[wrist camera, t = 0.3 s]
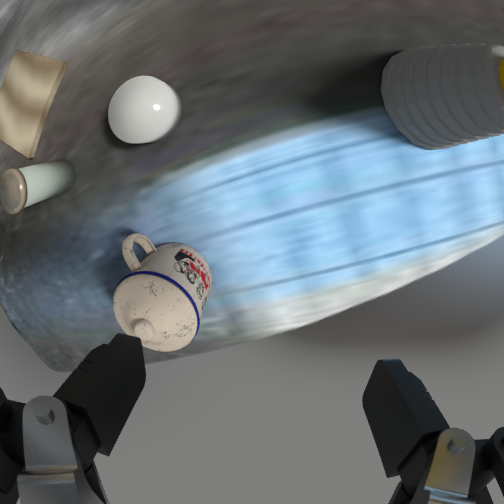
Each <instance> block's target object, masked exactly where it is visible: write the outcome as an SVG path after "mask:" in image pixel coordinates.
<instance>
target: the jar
mask: <svg viewBox="0 0 504 504" xmlns="http://www.w3.org/2000/svg"><path fill="white" fill-rule="evenodd" d="M74 182H75V169H74V167H73V165H72V163H71V162H70V161H68V160H66V159H62V160H57V161H52V162H47V163H42V164H37V165H33V166H28V167H24V168H20V169H17V168H12V169H9V170H6V171H5V172H4V173H3V175H2V177H1V180H0V199H1V203H2V205H3V207H4V209H5V210H6V211H7V212H8V213H10V214H15V213H17V212H20V211H21V210H22V209H23V208H25V207H27V206H30V205H32V204H35V203H37V202H40V201H42V200H45V199H48V198H50V197H53V196H56V195H59V194H62V193H64V192H67V191H69V190H70V189H71V188H72V187H73V185H74Z"/></svg>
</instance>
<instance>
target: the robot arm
mask: <svg viewBox="0 0 504 504" xmlns="http://www.w3.org/2000/svg"><path fill="white" fill-rule="evenodd" d="M145 380H146V370H145V363H144V356H143V348H142V342H141V339H140V338H139V337H135V336H131V335H126V334H122V333H118V334H117V335H116V336H115V337H114V338H113V339H112V340H111V342H110V343H109V344H108V345H107V344H102V345H100V346H98V347H97V348H95V349H93V350H92V351H91V352H90V353H89V354H88V355H87V356H86V357H85V359H84V361H82V362H81V363H80V364H79V365H78V368H77V369H75V370H74V371H73V372H72V374H71V375H70V376H69V377H68V379H67V380H66V381H65V382H64V383H63V384H62V386H61V387H60V388H59V390H58V391H57V392H56V393H55V394H54V395H53V396H38V397H35V398H33V399H32V400H30V401H29V402H28V403H27V404H25V403H20V402H16V401H11V400H7V398H6V396H5V394H4V392H3V390H2V389H1V388H0V504H16V502H17V500H18V498H19V497H20V502H21V504H110V503H109V501H108V498H107V496H106V493H105V491H104V488H103V486H102V483H101V480H100V477H99V474H98V471H97V468H96V466H95V462H94V460H93V459H94V457H95V455H96V453H97V452H99V453H101V454H104V455H106V456H109V455H110V453H111V451H112V449H113V447H114V445H115V443H116V441H117V439H118V437H119V435H120V433H121V431H122V429H123V427H124V425H125V423H126V421H127V419H128V417H129V415H130V413H131V411H132V409H133V407H134V405H135V403H136V401H137V400H138V398H139V396H140V394H141V392H142V390H143V388H144V385H145ZM362 402H363V408H364V411H365V414H366V417H367V420H368V422H369V425H370V428H371V431H372V434H373V437H374V439H375V443H376V445H377V448H378V451H379V454H380V457H381V460H382V463H383V466H384V470H385V473H386V476H387V478H389V477H393V476H398V475H400V477H401V481H400V482H399V483H398V485H397V487H396V489H395V491H394V493H393V495H392V497H391V499H390V501H389V503H388V504H493V501H492V499H491V496H490V494H489V491H488V489H487V486H486V485H487V484H488V483H489V482H490V481H491V480H493V479H494V478H496V480H497V482H498V484H499V487H500V489H501V491H502V494H503V496H504V427H501V428H499V429H497V430H496V431H495V433H494V434H493V435H492V436H491V437H490V439H483V440H474V439H473V438H472V436H471V435H470V434H469V433H467V432H466V431H464V430H462V429H459V428H450V427H449V425H448V423H447V422H446V420H445V418H444V417H443V415H442V413H441V412H440V410H439V408H438V407H437V405H436V404H435V402H434V400H432V397H431V396H430V394H429V392H427V389H426V388H425V386H424V385H423V383H422V381H421V380H420V379H419V378H418V377H416V376H415V375H414V374H413V373H411V372H408V371H407V369H406V368H405V366H404V364H403V363H402V361H401V360H400V359H383V360H378V361H377V363H376V364H375V367H374V370H373V372H372V374H371V377H370V379H369V381H368V384H367V386H366V389H365V391H364V394H363V401H362Z"/></svg>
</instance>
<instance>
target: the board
mask: <svg viewBox="0 0 504 504" xmlns="http://www.w3.org/2000/svg"><path fill="white" fill-rule="evenodd" d="M68 64H69V63H67V62H64V61H60V60H56V59H52V58H49V57H45V56H41V55H36V54H32V53H27V52H23V51H17V50H16V52H15V55H14V57H13V59H12V61H11V64H10V66H9V69H8V71H7V74H6V76H5V79H4V82H3V84H2V87H1V90H0V140H2V141H3V142H4V143H6V144H7V145H9V146H10V147H12V148H13V149H15V150H16V151H18V152H20V153H21V154H23V155H24V156H26V157H27V158H34V156H35V153H36V149H37V145H38V142H39V138H40V135H41V132H42V129H43V126H44V123H45V120H46V117H47V114H48V111H49V109H50V106H51V103H52V101H53V98H54V96H55V93H56V91H57V88H58V86H59V84H60V82H61V79H62V77H63V75H64V73H65V71H66V68H67V66H68Z"/></svg>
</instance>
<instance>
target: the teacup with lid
mask: <svg viewBox="0 0 504 504" xmlns="http://www.w3.org/2000/svg"><path fill="white" fill-rule="evenodd" d="M133 242H136V243H138V244H139V245H140V246H141V247H142V248H143V249H144V250H145V252H146V254H147V255H148V256H147V257H146V258H145V259H144V260H143V261H142V262H141V263H140V262H139V261H138V259H137V257H136V255H135V253H134V249H133ZM122 252H123V256H124V259H125V261H126V263H127V265H128V267H129V268H130V270H131V271H132V273H131V274H129V275H127V276H125V277H124V278H123V279H122V280H121V281H120V282H119V283H118V285H117V287H116V289H115V292H114V296H113V309H114V313H115V316H116V319H117V321H118V323H119V325H120V326H121V328H122V329H123V330H124V331H125V333H126V334H127V335H131V336H135V337H139V338H140V339H141V342H142V346H144V347H147V348H149V349H152V350H157V351H174V350H178V349H180V348H183V347H184V346H186V345H187V344H189V343H190V342H191V341H192V340H193V339H194V338H195V336H196V334H197V332H198V329H199V324H200V317H201V314H202V311H203V309H204V306H205V303H206V301H207V298H208V295H209V293H210V290H211V287H212V273H211V270H210V267H209V265H208V263H207V262H206V260H205V259H204V257H203V256H202V255H201V254H200V253H199V252H197V251H196V250H195V249H193V248H191V247H189V246H187V245H184V244H180V243H168V244H164V245H161V246H159V247H157V248H155V246H154V245H153V243H152V242H151V241H150V240H149V239H148V238H147V237H146V236H145V235H143V234H140V233H134V234H131V235H129V236H127V237H126V238H125V239H124V241H123V244H122Z"/></svg>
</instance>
